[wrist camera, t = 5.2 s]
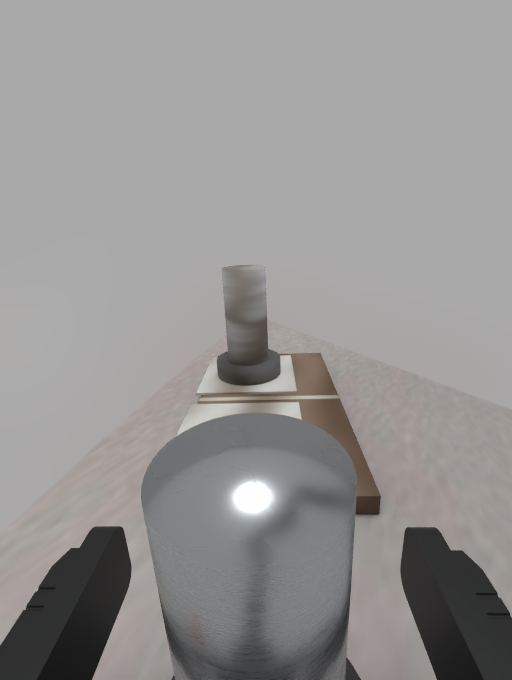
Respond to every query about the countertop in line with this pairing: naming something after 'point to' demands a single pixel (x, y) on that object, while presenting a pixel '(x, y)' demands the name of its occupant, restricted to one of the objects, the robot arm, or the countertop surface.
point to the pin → (253, 549)
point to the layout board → (329, 422)
